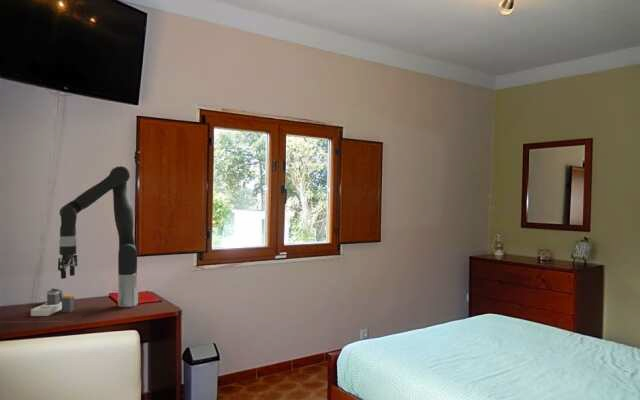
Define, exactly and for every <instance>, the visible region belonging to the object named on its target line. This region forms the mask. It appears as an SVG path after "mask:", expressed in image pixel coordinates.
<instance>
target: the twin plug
mask: <svg viewBox="0 0 640 400" xmlns="http://www.w3.org/2000/svg"><path fill="white" fill-rule="evenodd" d="M49 291H50V290H49ZM47 292H48V291H47ZM47 292H46V298H47V299H46V300H47V301H46V303H47V305H57V304H59V293H60V291H50V292H48V293H47Z"/></svg>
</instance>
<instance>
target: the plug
mask: <svg viewBox="0 0 640 400" xmlns="http://www.w3.org/2000/svg"><path fill="white" fill-rule="evenodd" d="M74 310H75V294H74V293H72V294H71V293H69V294H67V293H66V294H63V296H62V309H61V313H71V312H73V311H74Z"/></svg>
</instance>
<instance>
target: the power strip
mask: <svg viewBox="0 0 640 400" xmlns="http://www.w3.org/2000/svg"><path fill="white" fill-rule="evenodd" d="M59 311H62V302H59V304H57V305H47V302H45V303H43V304H41V305H39V306H36V307H33V308H31V309H30V317H49V316H51V315H53V314H55V313H57V312H59Z"/></svg>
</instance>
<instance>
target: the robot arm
mask: <svg viewBox="0 0 640 400" xmlns="http://www.w3.org/2000/svg"><path fill="white" fill-rule="evenodd" d="M130 178H131V172H130V170H129V169H128V168H127V167H125V166H121V165H120V166H116V167H113V168H112V169H111V170H110V172H109V174H108V175H107V177H105V178H103V180H101V181H100V182H98V183H97V184H95V185H93V186H91V187H90V188H88V189H87V190H85V191H84V192H82V193H81V194H79V195H78V196H77V197H76V198H75V199H73V200H71V201H70V202H68V203H66V204H64V206H62V207H61V208H60V209H59V216H60V226H59V227H60V228H59V241H58V243H59V246H58V247H59V255H60V256H61V257H58V259H57V260H58V261H57V271H60V278H61V279H66V278H67V269H68V267H69V276H75V275H76V268H77V266H78V255H77V227H76V225H77V218H78V216H77V214H78V213H80V212H81V211H83V210H85V209H87V208H88V207H90V206H91V205H92V204H94V203H95V202H96V201H98V200H99V199H100V198H102V197H103V196H104V195H106V194H107V193H108V192H110V191H112V195H113V197H112V199H113V201H112V202H113V215H114V222H115V225H116V226H115V227H116V230H117V234H118V251H117V252H118V253H117V255H118V256H117V257H118V259H117V260H118V263H117V264H118V265H117V267H118V268H117V270H118V272H117V274H118V276H117V277H118V278H117V280H118V283H117V284H118V286H117V300H118V301H117V304H118V305H117V306H118V307H119V308H132V307H135V306H137V305H138V304H139V287H138V286H137V285H138V278H137V277H138V275H137V273H138V250H137V247H136V243H135V237H134V213H133V212H134V211H133V205H132V203H131V199H130V197H129V193H128V192H129V191H128V181H129V180H130Z"/></svg>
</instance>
